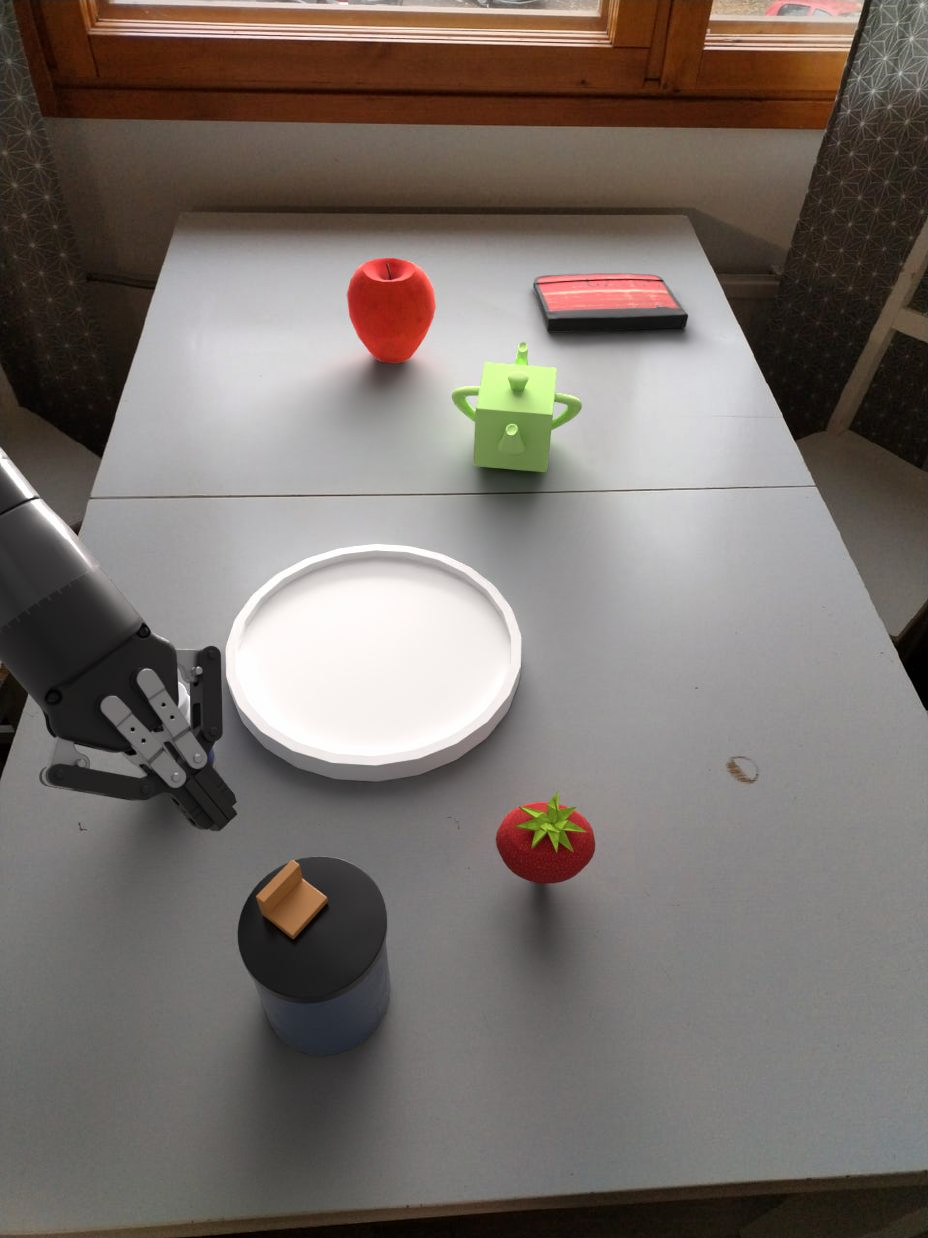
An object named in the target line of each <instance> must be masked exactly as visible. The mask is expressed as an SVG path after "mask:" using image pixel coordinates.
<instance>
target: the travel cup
mask: <svg viewBox="0 0 928 1238" xmlns="http://www.w3.org/2000/svg"><path fill="white" fill-rule="evenodd" d="M293 860H294V861H295V862H296V863H298V864H299V865H300V869H301V873H302V879H304V880H305V881H306V882H308V883H309V884H310V885H312V886H313V887H314V888H315V889H317V890H318V891H319V892H321V893H322V894H323V895H325V896H326V897H327V899H328V902H327V903H326V904H325V905H324V907H323V908H322V909H321V910H320V911H319V912H318V913H317V914H316V915H315V916H314V918H313V919H312V920H311V921H310V922H309V923H308V924H307V925H306V926H305V927H304V929H303V930H302V931H301V932H300V933H299V934H298V935H297V936H296V937H295V938H294V939H292V938H291V937H289V936H288V935H287V934H286V933H284V932H283V931H282V930H281V929H279V928H278V927H277V926H276V925H275V924H273V923H272V922H271V921H270V920H268V919H267V918H266V917H265V916H263V915H262V913H261V910H260V908H259V905H258V902H257V898H256V896H257V895H258V894H259V893H260V892H261V891H262V890H263V889H264V888H265V887H266V886H267V885H268V884H269V883H270V882H271V881H272V879H273V878H274V877H275V876H276V875H277V874H278V873H279V872H280V871H281V870H282V869H283V868H284V867H285V866H286V865H287V864H288V863H289V862H286V863H284V864H281V865H280V866H278V867H276V868H275V869H274V870H272V871H271V872H269V873H268V874H267V875H266V876H265V877H263V878H262V879H261V880H260V881H259V882H258V883H257V885H255V887H253V889H252V891H251V892H250V893H249V894H248V897H247V898H246V900H245V902H244V904H243V906H242V909H241V911H240V915H239V918H238V923H237V932H236V933H237V945H238V952H239V954H240V957H241V960H242V962H243V965H244V967H245V969H246V971H247V974H248V975H249V976H250V977H251V979H252V981H253V982H254V986H255V987H256V991H257V993H258V995H259V998H260V1001H261V1004H262V1006H263V1009H264V1012H265V1015H266V1017H267V1020H268V1023H269V1025H270V1026H271V1028H272V1030H273V1031H274V1033H275V1034H276V1036H277V1037H278V1038H279V1039H280V1040H281V1041H282V1042H283V1043H284V1044H286V1045H287V1046H288V1047H289V1048H292V1049H293V1050H295V1051H297V1052H299V1053H303V1054H306V1055H310V1056H319V1057H320V1056H321V1057H322V1056H333V1055H337V1054H341V1053H343V1052H346V1051H348V1050H351V1049H353V1048H354V1047H356V1046H358V1045H360V1044H361V1043H362V1042H364V1040H366V1039H367V1038H368V1037H369V1036H370V1035H372V1033H373V1032H374V1031H375V1030H376V1029H377V1027H378V1026H379V1024H380V1023H381V1021H382V1019H383V1017H384V1014H385V1013H386V1010H387V1008H388V1005H389V1000H390V995H391V994H390V993H391V980H390V979H391V978H390V969H389V959H388V958H389V957H388V946H387V935H388V913H387V907H386V903H385V899H384V896H383V894H382V892H381V890H380V887H378V885H377V883H376V882H375V880H373V878H372V877H371V876H370V875H369V874H368V873H367V872H366V871H365V870H363V869H362V868H360V867H359V866H357V865H356V864H354V863H352V862H350V861H347V860H345V859H342V858H339V857H334V856H328V855H327V856H325V855H317V856H316V855H314V856H311V855H310V856H306V857H305V856H304V857H301V858H297V859H293Z"/></svg>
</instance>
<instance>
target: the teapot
mask: <svg viewBox="0 0 928 1238" xmlns="http://www.w3.org/2000/svg"><path fill="white" fill-rule="evenodd" d="M528 353H529V346H528V344H527V342H525V341H524V342H523V341H522V342H520V343H519V344H518V346H517V350H516V356H515V360H514V363H503V362H490V361H484V363H483V369H482V374H481V378H480V384H479V386H477V385H470V386H468V385H467V386H461V387H457V388H456V389H454V390H453V391H452V393H451V399H452V402H453V404H454V405H455V407H456V408H457V410H459V411H460V412H461V413H462V414H464V415H465V416H466V417H467V418H469V419H470V420H471V421H472V422H474V439H473V440H474V441H473V443H474V444H473V467H480V468H493V469H504V470H514V471H515V470H516V471H524V472H525V471H526V472H527V471H528V472H536V473H537V472H538V473H547V472H548V466H549V465H548V464H549V456H550V447H551V437H552V432H553V430H556V429H557V428H559V427H561V426H564V425H565V424H566V423H568V422H570V421H572V420H573V419H574V418H575V417H577V415H578V414H579V413H580V412H581V410H582V408H583V403H582V401H581V400H580V399H579V398H578V397H576V396H574V395H570V394H566V393H560V392H556V384H557V371H558V368H557V367H555V366H554V367H553V366H552V367H551V366H540V365H529V359H528ZM475 396H476V397H477V399H476V405H475V409H474V408H473V406H472V405H471V404H470V402H469V401H468V400H467V398H468V397H475ZM466 397H467V398H466ZM555 403H558V404H562V405H566V406H567V407H566V408H565V410H563V411H562V412H561V413H560V414H559V415H558V416H556V417H555V418H554V408H555Z"/></svg>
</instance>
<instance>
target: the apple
mask: <svg viewBox="0 0 928 1238" xmlns="http://www.w3.org/2000/svg"><path fill="white" fill-rule="evenodd" d="M347 288H348V289H347V292H346V298H347V299H346V300H347V307H348V316H349V320H350V321H351V325H352V326H353V328H354V331H355V333H356V335H357V338H358V339H359V340H360V341H361V343H362V344H363V346H364V347H365V348H366V350H367V351H368V352H369V353H370V354H371V355H372V356H373V357H374V358H375V360H378V361H379V362H382V363H386V364H400V363H405V362H406V361H408V360H409V359H411V358H412V357H413V356H414V354H415V353H416V352H417V350H419V349H418V348H419V347H420V346H421V344H422V343H423V341H424V340H425V338H426V336H427V334H428V332H429V330H430V327H431V325H432V324H433V320H434V317H435V313H436V308H437V304H436V297H435V290H434V287H433V284H432V282H431V280H430V278H429V276H428V275H427V273H426V272H425V271H424V269H423V267H421V266H419V265H417V264H415V263H414V262H411V261H408V260H405V259H400V258H396V257H384V258H375V259H371V260H368V261H366V262H364V263H362V264H361V265H359V266H358V267H357V268H356V270H355V271H354V273H353V274H352V277H351V279H350V280H349V283H348V287H347Z"/></svg>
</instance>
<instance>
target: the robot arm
mask: <svg viewBox="0 0 928 1238" xmlns="http://www.w3.org/2000/svg"><path fill="white" fill-rule="evenodd" d="M50 507H51V506H49V505H48V504H47V503H46V502H45V501H44V499H42V498H41V496H40V494H39V493H38V492H37V491H36V489H35V488H34V487H33V485H32V484H31V483H30V482H29V481H28V479H27V478H26V477H25V476H24V475H23V473H22V472H21V471H20V469H19V468H18V467H17V466H16V464H15V463H14V462H13V461H12V459H10V457H9V456H8V454H7V453H6V452H5V450H3V448H2V447H1V446H0V662H1V663H2V664H3V665H4V666H5V668H6V670H8V671H9V672H10V674H11V675H12V677H14V678H15V680H16V681H17V682H18V683H19V684H20V686H21V687H22V688H23V689H24V690H25V691H26V692H27V693H28V695H29V696H30V697H31V699H33V701H34V702H35V703H36V705H38V707H39V708H40V710H41V712H42V714H43V716H44V720H45V727H46V731H48V733H49V735H50V736H51V737H52V738H53V739H54V740H53V744H52V747H51V751H50V755H49V757H48V762H47V765H46V766H44V767H43V768H42V769H41V770H40V772H39V774H38V778H39V781H40V783H41V784H42V786H45V787H49V788H55V789H60V790H66V791H71V792H78V793H83V794H88V795H89V794H90V795H96V796H101V797H107V798H113V799H119V800H123V801H132V802H134V801H135V802H136V801H149V800H150V799H152V798H154V797H156V796H158V795H161V794H162V795H165V796H166V797H167V798H168V799H169V800H170V801H171V803H172V804H173V805H174V807H175V808H176V809H177V810H178V811H179V812H180V813H181V815H182V816H183V817H184V818H185V819H186V821H187V822H188V823H189V824H190V825H191V826H192V827H193V828H196V829H197V830H200V831H201V830H203V831H208V830H209V831H211V832H221V831H222V830H223V829H224V828H225V827H226V826H227V825H228V824H229V823H231V822H232V820H233V819H234V818H235V817H237V816H238V812H237V810H236V809H235V807H234V806H235V805H236V804H237V803H238V799H237V798H236V794H235V792H234V791H233V790H232V789H231V787H229V785H228V784H227V782H225V780H224V779H223V777H221V775H220V773H218V771H217V770H216V769H215V768H213V767H212V766H211V764H210V762H209V752H210V750H211V749H212V747H213V748H214V746H215V743H216V742H218V741H220V739H222V737H223V734H224V721H223V719H224V718H223V717H224V716H223V685H222V684H223V682H222V681H223V680H222V679H223V678H222V676H223V675H222V653H221V650H220V649H219V648H218V647H217V646H214V645H208V646H205V647H202V648H176V647H175V646H174V644H173V642H171V641H170V640H169V639H167V638H166V637H163V636H161V635H159V634H157V633H155V632H154V631H153V630H152V629H151V628H150V627H149V625H148V623H146V620H145V619H144V618H143V617H142V615H140V613H139V612H138V611H137V609H136V608H135V607H134V606H133V604H132V603H131V602H130V601H129V599H128V598H127V596H125V594H124V593H123V592H122V590H121V589H120V588H119V587H118V585H117V584H116V583H115V582H114V581H113V579H112V578H111V577H110V576H109V574H108V573H107V572H106V570H105V569H104V568H103V566H102V565H101V564H100V563H99V562H98V560H97V559H96V558H95V556H94V555H93V554H92V553H91V551H90V550H89V549H88V548H87V547H86V546H85V544H84V543H83V542H82V540H81V538H80V537H78V535H77V534H76V533H75V532H74V530H73V529H72V528H71V527H70V526H69V525H68V524H67V523H66V522H65V521H64V520H63V518H61V517H60V515H58V514H57V513H56V512H55V511H53V509H52V508H50ZM178 670H179V672H180V677H181V679H182V681H184V682H185V683H186V684H189V696H190V725H189V723H188V722H187V720H186V719H185V717H184V716H183V714H182V713H181V711H180V710H179V709H178V705H179V689H178V682H179V672H178ZM75 745H76V746H79V747H80V746H81V747H85V748H90V749H93V750H97V751H102V752H107V753H110V754H119V753H120V754H121V755H122V756H123V757H125V759H126V760H127V761H128V762H129V763H131V764H132V765H133V766H135V767H137V768H138V769H139V770H140V772H142V773H143V774H144V776H142V777H137V776H131V775H127V774H121V773H115V772H110V771H104V770H100V769H99V770H98V769H93V768H90V767H91V760H90V758H89V756H87V755H86V754H84V753H81V752H80V751H78V749H77V748H76V746H75ZM164 749H165V750H164ZM166 752H167V753H166Z"/></svg>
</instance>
